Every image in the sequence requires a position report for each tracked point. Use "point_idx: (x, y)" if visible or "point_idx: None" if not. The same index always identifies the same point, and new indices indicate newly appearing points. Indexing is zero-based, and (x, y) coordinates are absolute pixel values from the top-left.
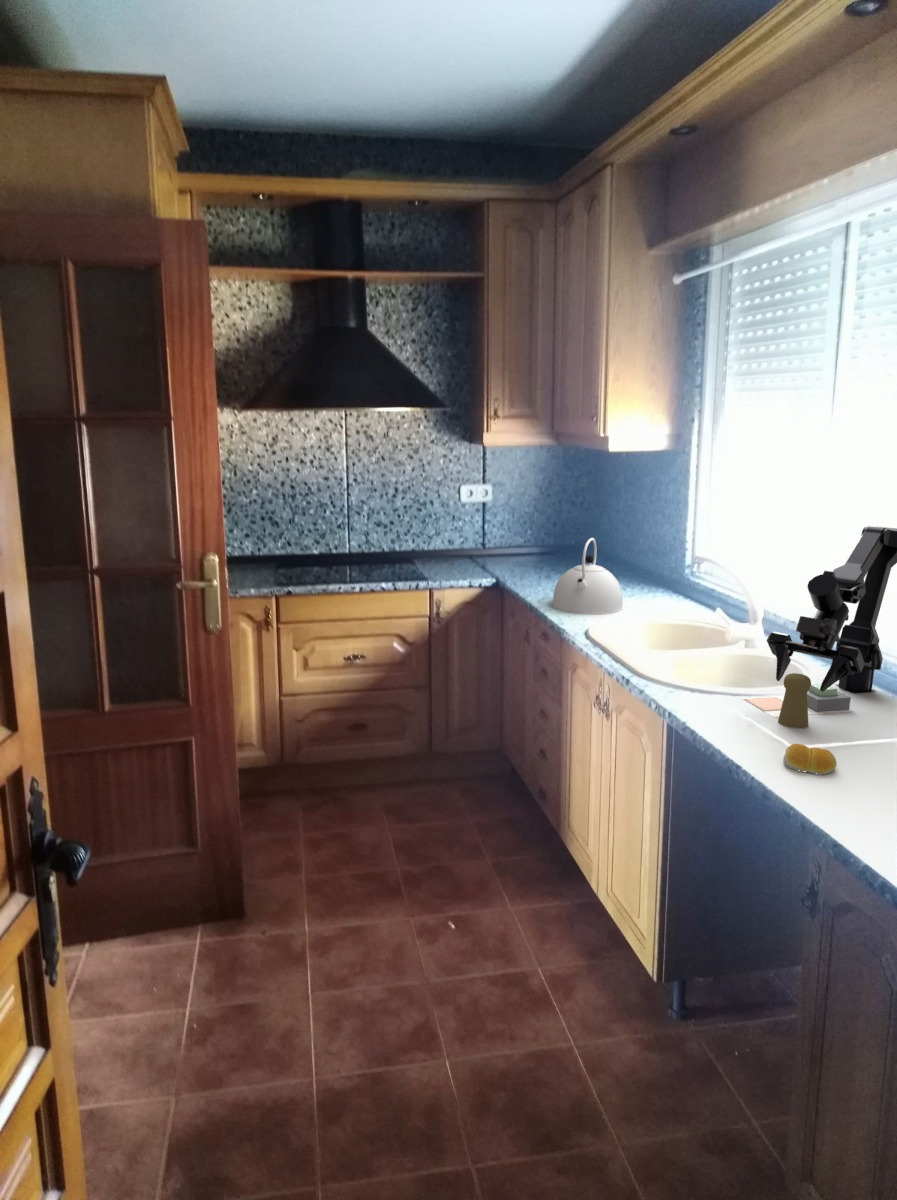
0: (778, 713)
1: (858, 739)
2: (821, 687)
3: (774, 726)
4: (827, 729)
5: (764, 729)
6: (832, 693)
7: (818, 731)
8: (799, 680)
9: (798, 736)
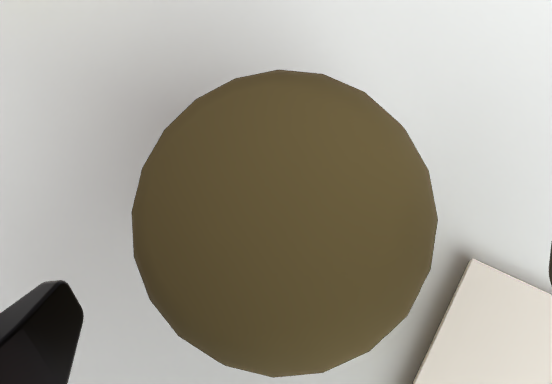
0: (495, 352)
1: None
2: (44, 284)
3: None
4: (181, 369)
5: (400, 78)
6: None
7: None
8: (191, 108)
9: None
